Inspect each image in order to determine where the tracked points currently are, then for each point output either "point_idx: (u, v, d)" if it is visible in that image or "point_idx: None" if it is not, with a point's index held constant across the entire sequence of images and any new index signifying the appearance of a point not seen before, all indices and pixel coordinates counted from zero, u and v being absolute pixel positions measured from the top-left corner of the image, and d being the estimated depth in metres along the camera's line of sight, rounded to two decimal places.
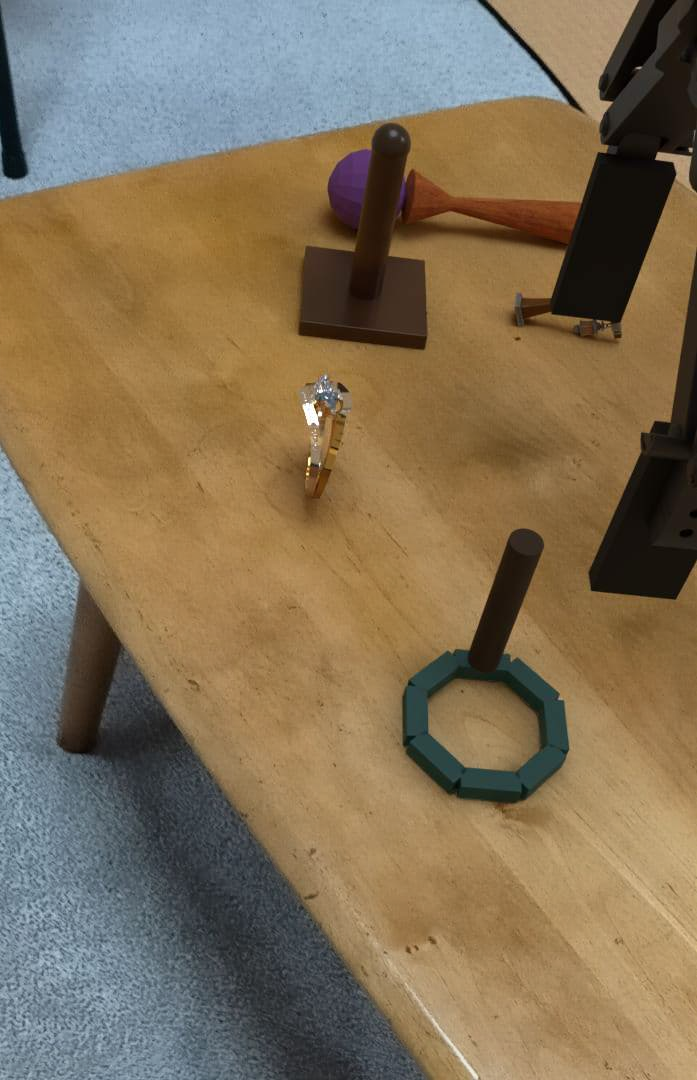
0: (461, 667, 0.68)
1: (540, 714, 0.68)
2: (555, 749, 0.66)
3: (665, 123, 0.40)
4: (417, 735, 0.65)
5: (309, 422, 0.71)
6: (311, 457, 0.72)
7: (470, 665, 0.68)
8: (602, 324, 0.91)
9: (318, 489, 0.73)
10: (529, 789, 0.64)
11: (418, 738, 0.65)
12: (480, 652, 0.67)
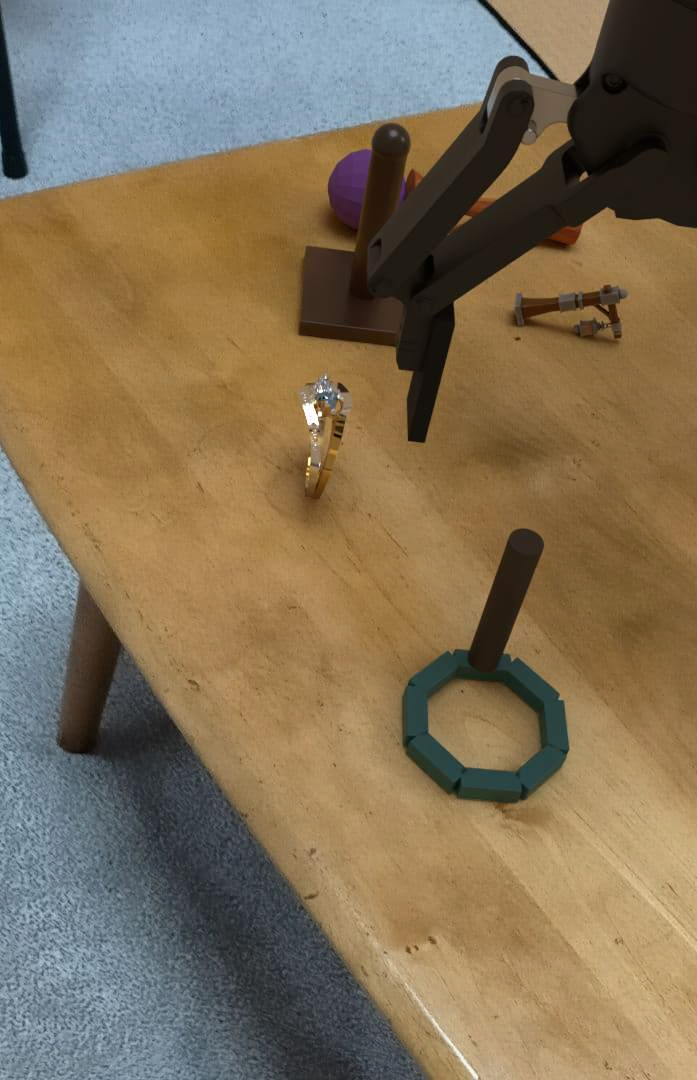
0: (461, 667, 0.68)
1: (540, 714, 0.68)
2: (555, 749, 0.66)
3: None
4: (417, 735, 0.65)
5: (309, 422, 0.71)
6: (311, 457, 0.72)
7: (470, 665, 0.68)
8: (602, 324, 0.91)
9: (318, 489, 0.73)
10: (529, 789, 0.64)
11: (418, 738, 0.65)
12: (480, 652, 0.67)
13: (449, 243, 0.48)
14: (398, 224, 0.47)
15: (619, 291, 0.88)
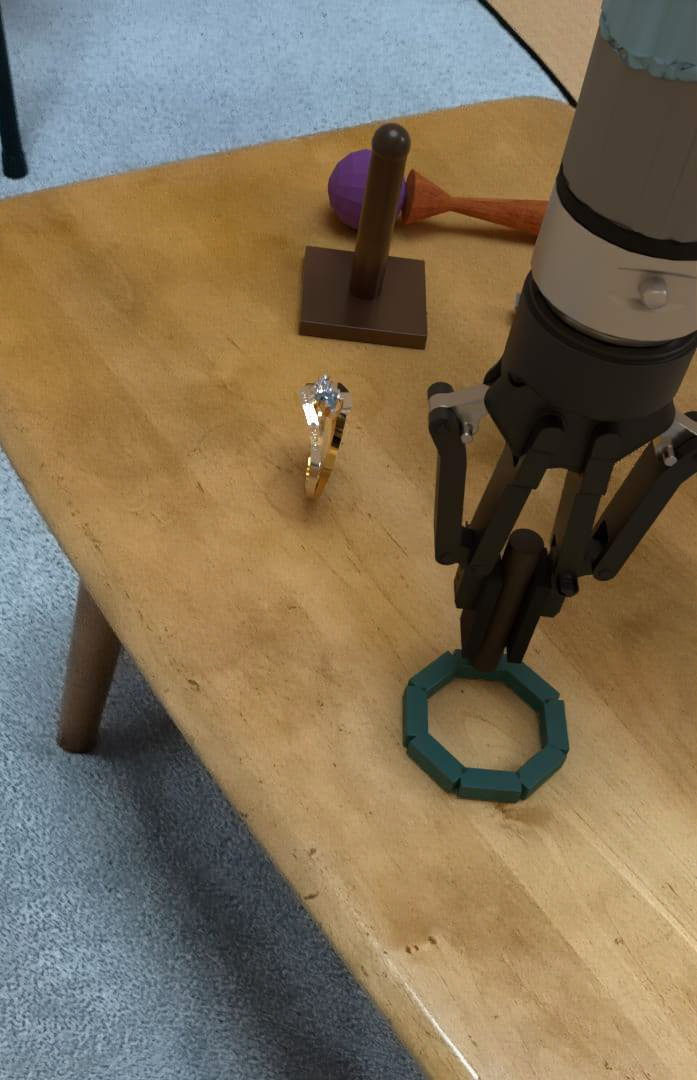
0: (461, 667, 0.68)
1: (540, 714, 0.68)
2: (555, 749, 0.66)
3: None
4: (417, 735, 0.65)
5: (309, 422, 0.71)
6: (311, 457, 0.72)
7: (470, 665, 0.68)
8: None
9: (318, 489, 0.73)
10: (529, 789, 0.64)
11: (418, 738, 0.65)
12: (480, 652, 0.67)
13: (477, 518, 0.61)
14: (435, 511, 0.60)
15: None
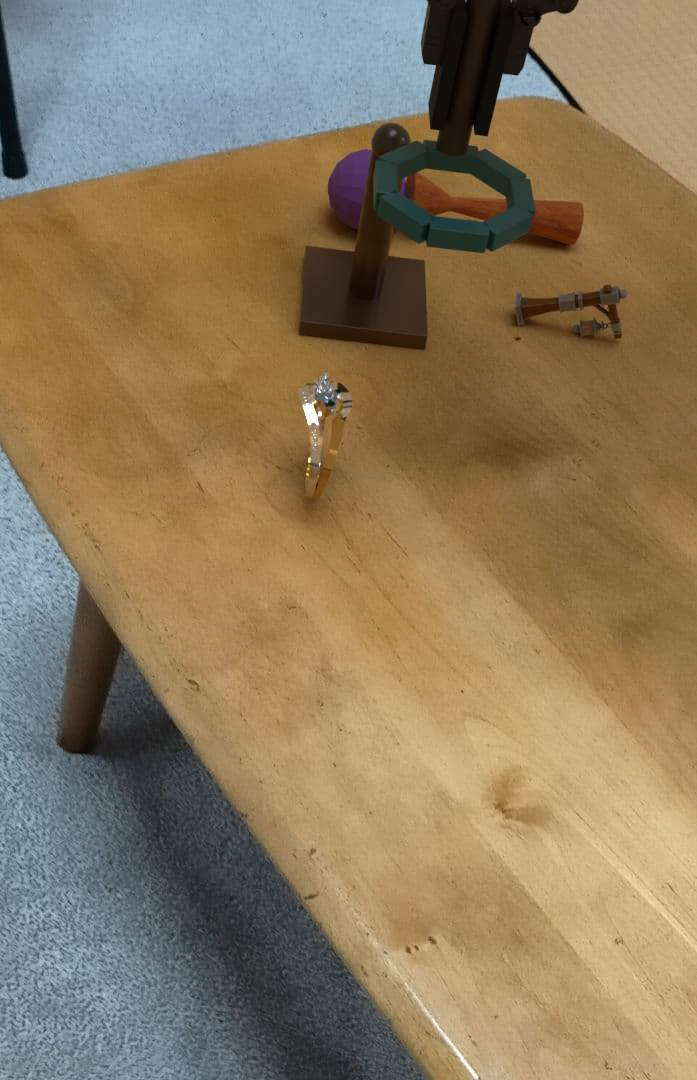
0: (430, 152, 0.70)
1: (507, 193, 0.70)
2: (522, 209, 0.67)
3: None
4: (387, 193, 0.67)
5: (309, 422, 0.71)
6: (311, 457, 0.72)
7: (439, 150, 0.70)
8: (602, 324, 0.91)
9: (318, 489, 0.73)
10: (496, 234, 0.66)
11: (388, 194, 0.67)
12: (448, 128, 0.69)
13: None
14: None
15: (619, 291, 0.88)
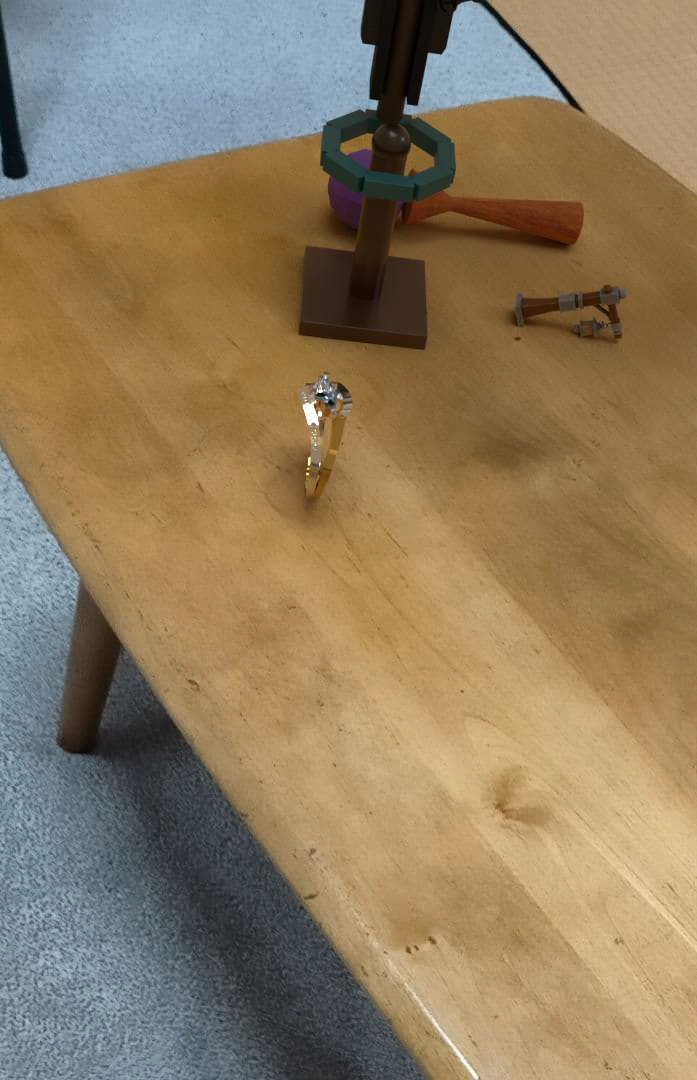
0: (370, 119, 0.83)
1: (434, 154, 0.83)
2: (444, 167, 0.80)
3: None
4: (331, 151, 0.80)
5: (309, 422, 0.71)
6: (311, 457, 0.72)
7: (378, 117, 0.83)
8: (602, 324, 0.91)
9: (318, 489, 0.73)
10: (420, 186, 0.79)
11: (331, 152, 0.80)
12: (384, 99, 0.82)
13: None
14: None
15: (619, 291, 0.88)
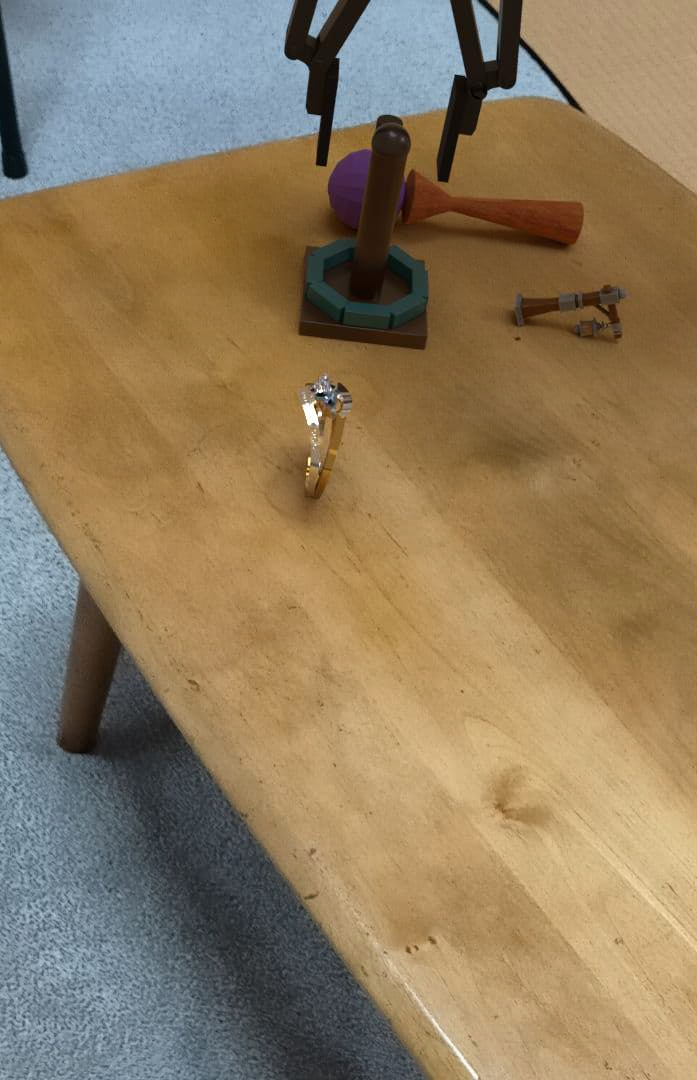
0: (351, 248, 0.91)
1: (410, 280, 0.90)
2: (418, 295, 0.88)
3: None
4: (314, 282, 0.87)
5: (309, 422, 0.71)
6: (311, 457, 0.72)
7: None
8: (602, 324, 0.91)
9: (318, 489, 0.73)
10: (396, 316, 0.86)
11: (315, 284, 0.87)
12: None
13: (326, 24, 0.79)
14: (292, 11, 0.78)
15: (619, 291, 0.88)
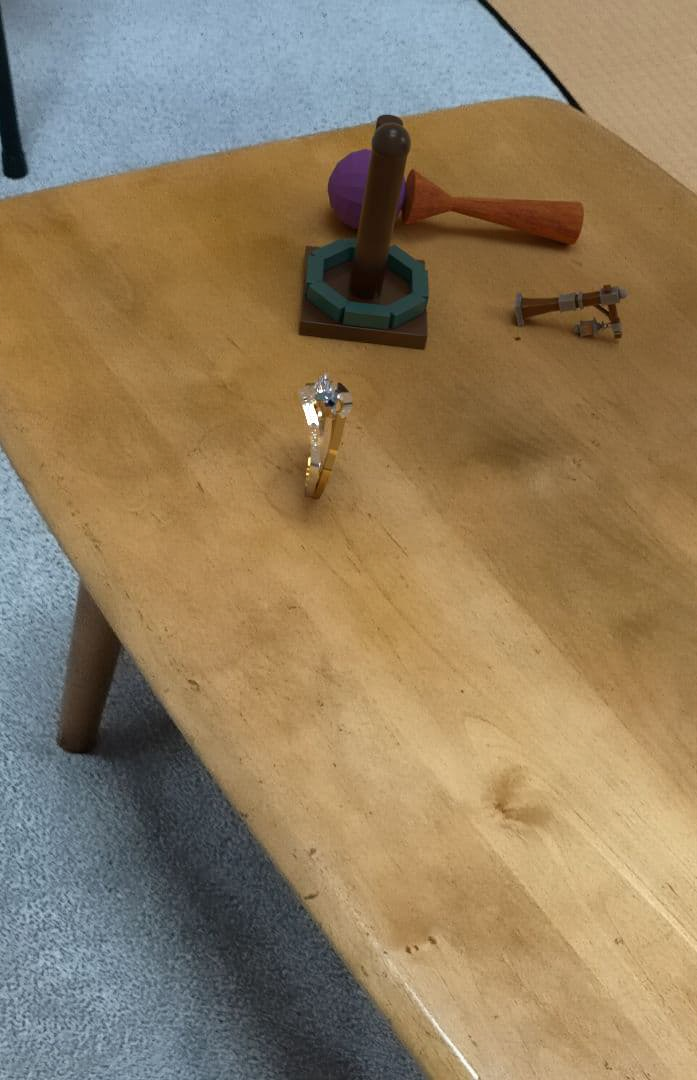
0: (351, 248, 0.91)
1: (410, 280, 0.90)
2: (418, 295, 0.88)
3: None
4: (314, 282, 0.87)
5: (309, 422, 0.71)
6: (311, 457, 0.72)
7: None
8: (602, 324, 0.91)
9: (318, 489, 0.73)
10: (396, 316, 0.86)
11: (315, 284, 0.87)
12: None
13: None
14: None
15: (619, 291, 0.88)
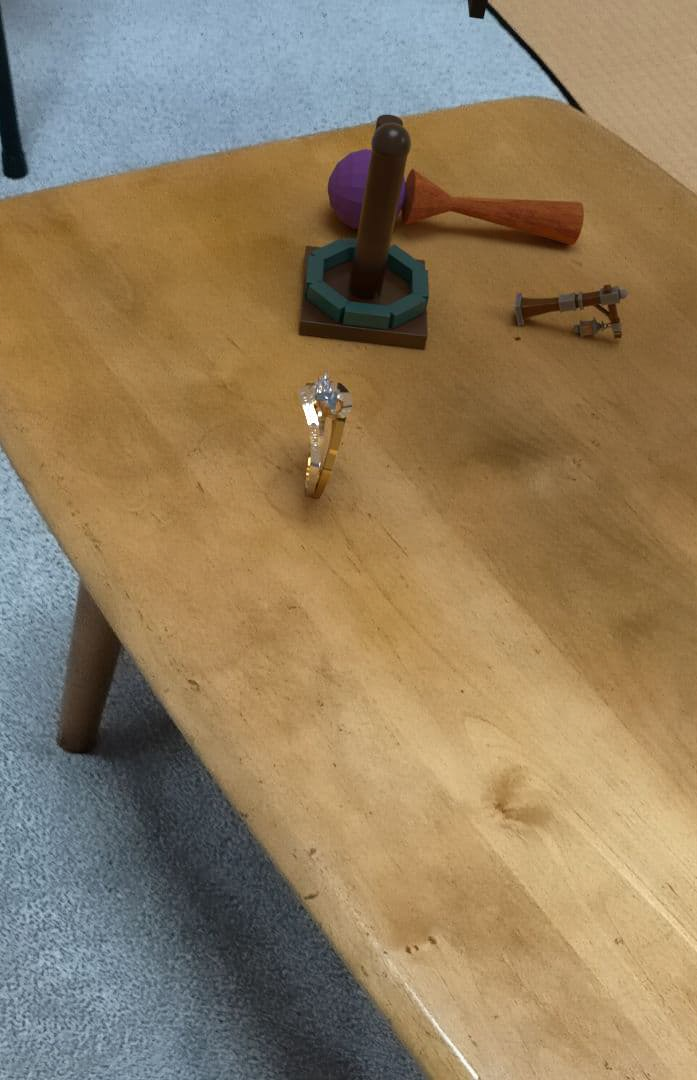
0: (351, 248, 0.91)
1: (410, 280, 0.90)
2: (418, 295, 0.88)
3: None
4: (314, 282, 0.87)
5: (309, 422, 0.71)
6: (311, 457, 0.72)
7: None
8: (602, 324, 0.91)
9: (318, 489, 0.73)
10: (396, 316, 0.86)
11: (315, 284, 0.87)
12: None
13: None
14: None
15: (619, 291, 0.88)
